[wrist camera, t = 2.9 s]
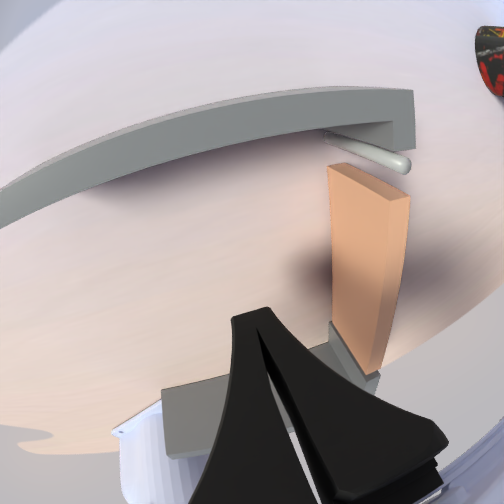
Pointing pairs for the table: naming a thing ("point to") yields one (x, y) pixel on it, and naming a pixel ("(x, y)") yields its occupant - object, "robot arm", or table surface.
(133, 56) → the table surface
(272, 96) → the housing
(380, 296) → the door
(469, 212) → the table surface
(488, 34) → the deodorant
